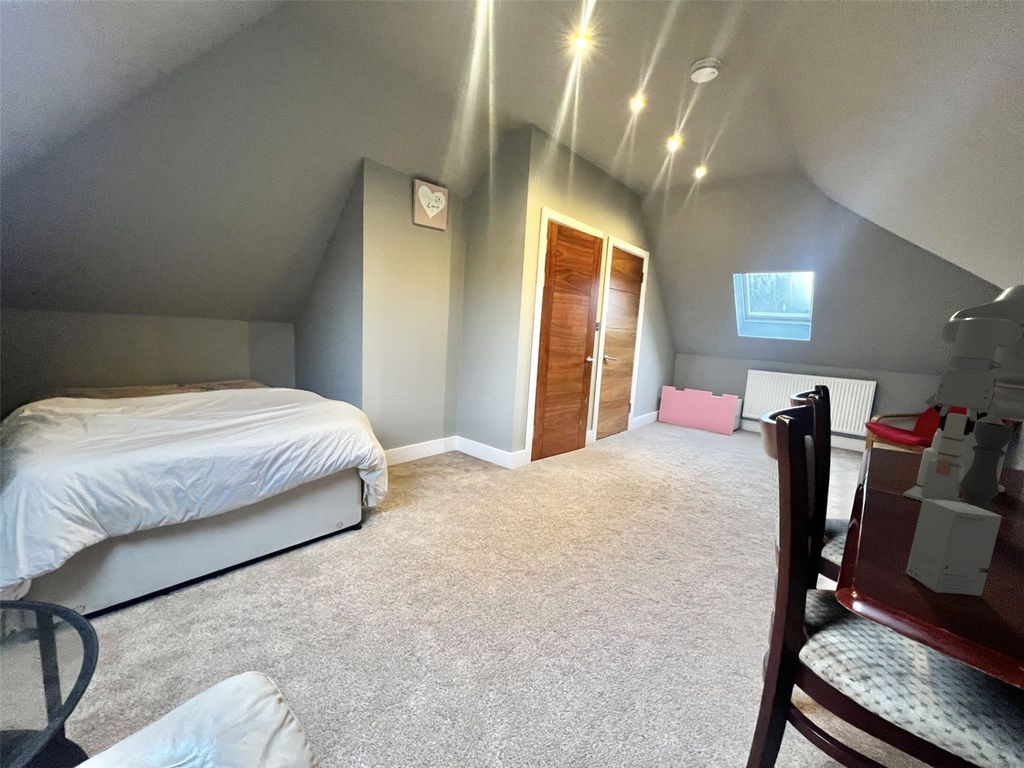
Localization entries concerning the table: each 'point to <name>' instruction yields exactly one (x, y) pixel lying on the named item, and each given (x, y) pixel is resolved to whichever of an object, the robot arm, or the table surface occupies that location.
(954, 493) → the white blocky piece
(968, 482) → the candle holder
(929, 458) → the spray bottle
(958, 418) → the jack column
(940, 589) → the skincare box
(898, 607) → the table surface
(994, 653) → the table surface
